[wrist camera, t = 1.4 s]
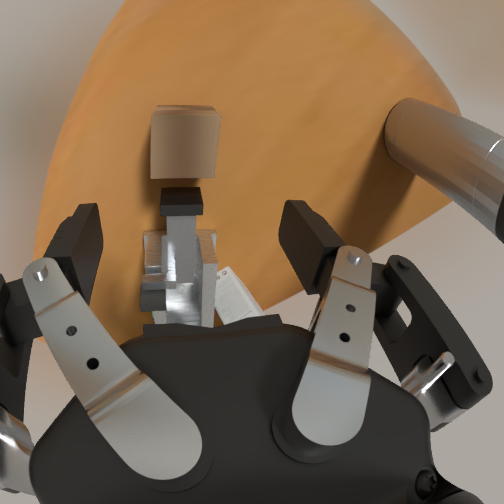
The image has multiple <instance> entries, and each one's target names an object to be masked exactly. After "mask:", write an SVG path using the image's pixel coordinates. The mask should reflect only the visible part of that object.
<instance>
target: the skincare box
mask: <svg viewBox="0 0 504 504" xmlns="http://www.w3.org/2000/svg"><path fill="white" fill-rule="evenodd" d="M215 309H216V311H217V313H218V315H219V317H220V318H221V320H222V322H223V324H224V325H225V324H229V323H232V322H235V321H238V320H241V319H244V318H247V317H256V316H265V314H264V312H263V311H262V309H261V308H260V306H259V305H258V304H257V302H256V301H255V299H254V298H253V296H252V295H251V293H250V292H249V290H248V289H247V288H246V286H245V285H244V284H243V283H242V281H241V280H240V279H239V278H238V277H237V275H236V274H235V273H234V272H233V271H232V270H231V268H230V267H229V266H227V267H225V268H224V269H222V270H220V271H218V272H217V281H216V294H215Z"/></svg>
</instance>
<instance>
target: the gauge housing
mask: <svg viewBox="0 0 504 504" xmlns="http://www.w3.org/2000/svg"><path fill="white" fill-rule="evenodd" d="M216 235H217V234H216V230H215V229H198V230H195V270H194V283H182V284H176V289H166V308H167V311H152V316H153V322H154V324H168V323H181V324H188V325H195V326H203V327H211V328H213V323H214V308H215V294H216V281H217V268H218V262H217V257H216V253H215V247H216ZM143 238H144V248H145V261H144V264H145V272H146V274H158V273H168V246H167V230H164V231H144V235H143Z"/></svg>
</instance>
